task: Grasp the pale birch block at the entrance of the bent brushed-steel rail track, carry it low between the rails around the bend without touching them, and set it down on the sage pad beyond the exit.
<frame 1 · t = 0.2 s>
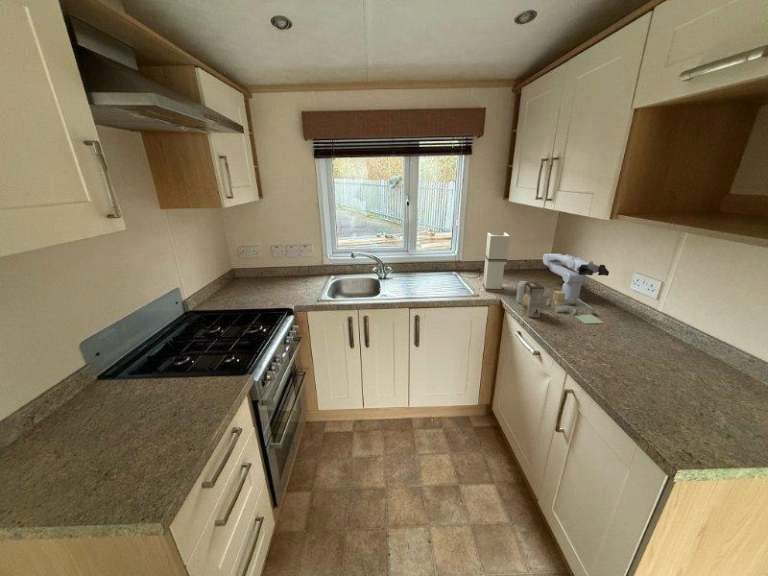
hand: (600, 273, 151), 21 cm above the worktop, tool horizontal, fingers open, 7 cm apart
beverage can: (521, 302, 173), on the worktop
coffee box: (530, 313, 159), on the worktop
wire track: (569, 306, 161), point 2 cm above the worktop, slide at 0.0 cm
end pad: (588, 319, 150), on the worktop
tall white stacked column: (492, 289, 194), on the worktop
birch block: (556, 308, 164), on the worktop
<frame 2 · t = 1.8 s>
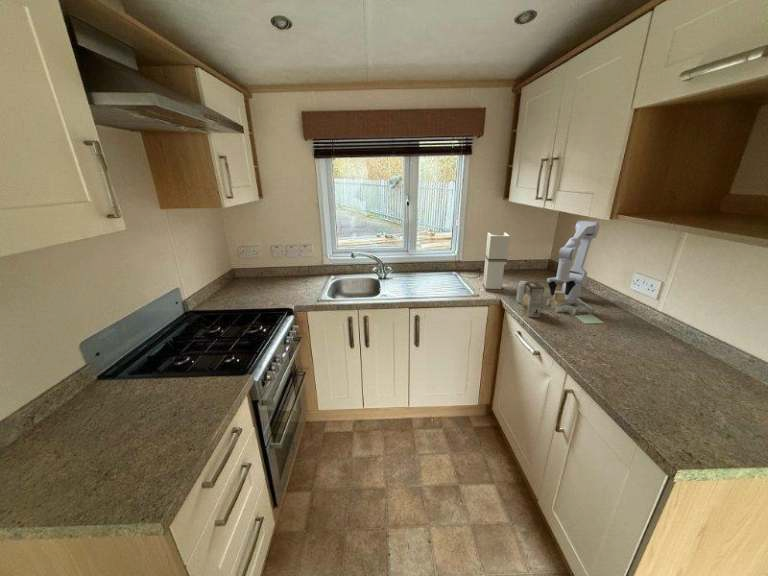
hand: (559, 294, 161), 8 cm above the worktop, tool pointing down, fingers open, 7 cm apart
nothing on the worktop moved.
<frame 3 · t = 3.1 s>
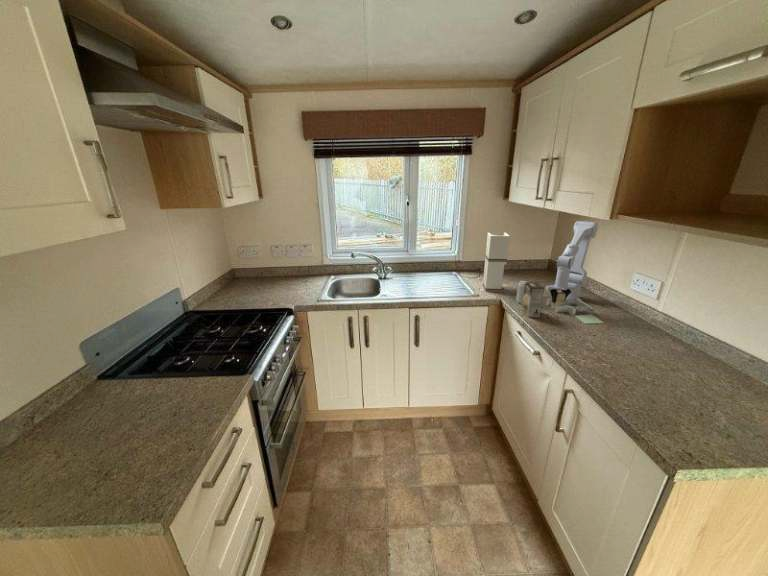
hand: (557, 302, 163), 3 cm above the worktop, tool pointing down, fingers closed on birch block, 4 cm apart
birch block: (556, 308, 164), on the worktop, touching gripper
everything else where it was.
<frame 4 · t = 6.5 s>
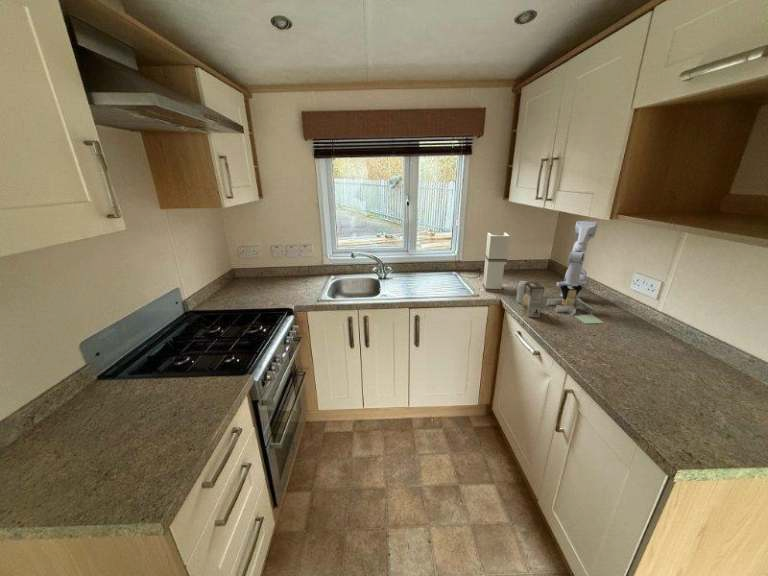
hand: (568, 298, 162), 5 cm above the worktop, tool pointing down, fingers closed on birch block, 4 cm apart
birch block: (567, 304, 163), point 2 cm above the worktop, touching gripper
everything else where it was.
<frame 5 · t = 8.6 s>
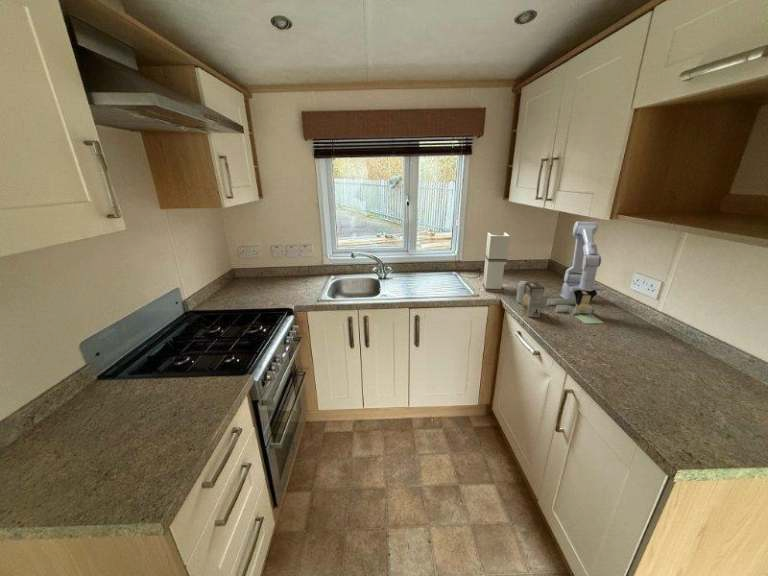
hand: (582, 304, 155), 5 cm above the worktop, tool pointing down, fingers closed on birch block, 4 cm apart
birch block: (581, 310, 156), point 2 cm above the worktop, touching gripper
everything else where it was.
when the fingers open (5 cm above the worktop, at t = 10.3 s): birch block drops 1 cm, resting on end pad.
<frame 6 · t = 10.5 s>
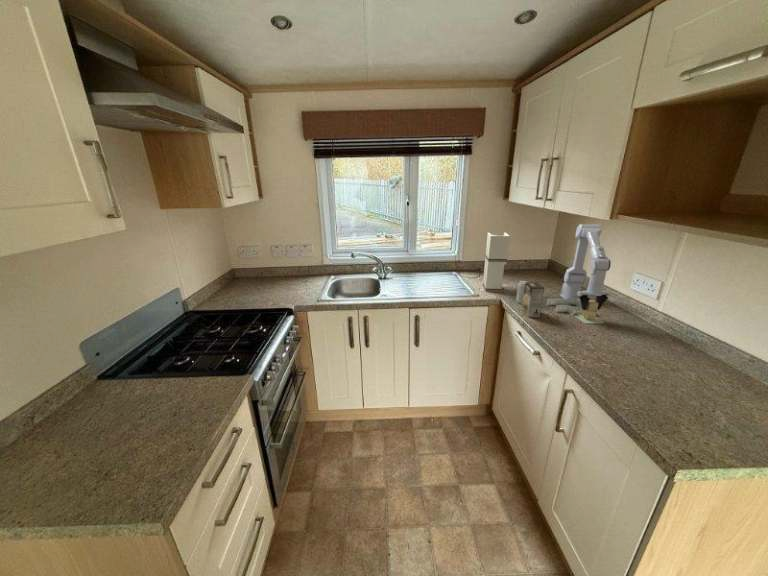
hand: (590, 309, 149), 5 cm above the worktop, tool pointing down, fingers open, 6 cm apart
birch block: (588, 318, 151), resting on end pad
everything else where it was.
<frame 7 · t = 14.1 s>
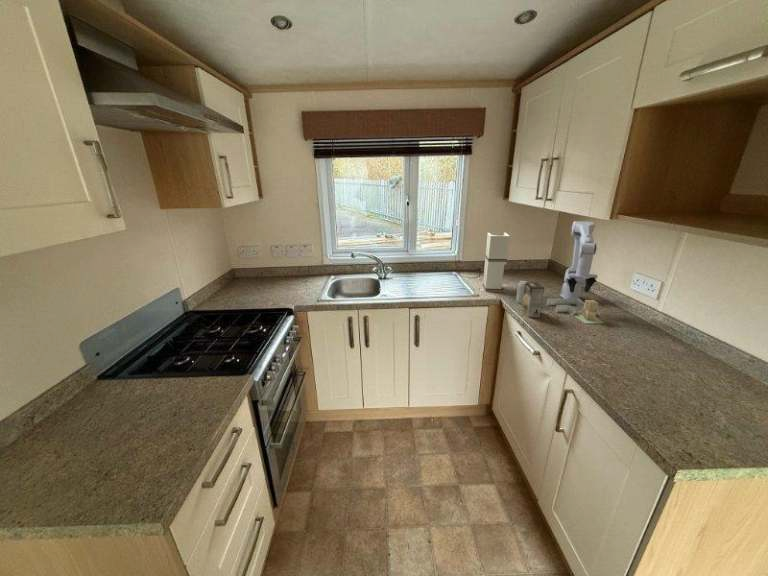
hand: (578, 291, 158), 10 cm above the worktop, tool pointing down, fingers open, 7 cm apart
nothing on the worktop moved.
at the end: birch block inside the target area (0.2 cm from its centre), resting on end pad; birch block tilted 0°; birch block touching end pad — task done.
